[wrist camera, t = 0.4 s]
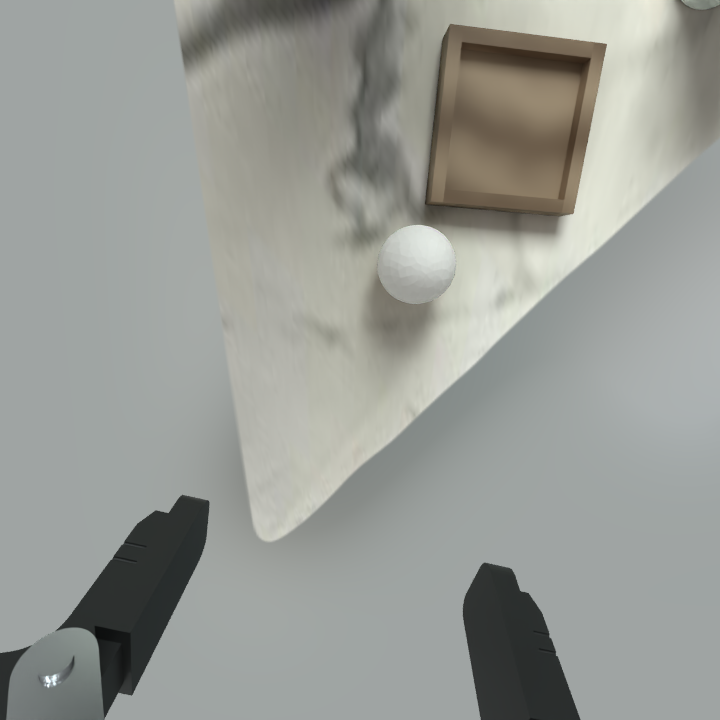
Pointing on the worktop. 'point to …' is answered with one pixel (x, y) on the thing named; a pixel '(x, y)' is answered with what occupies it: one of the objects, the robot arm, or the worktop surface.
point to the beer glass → (701, 4)
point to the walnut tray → (512, 120)
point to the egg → (416, 264)
